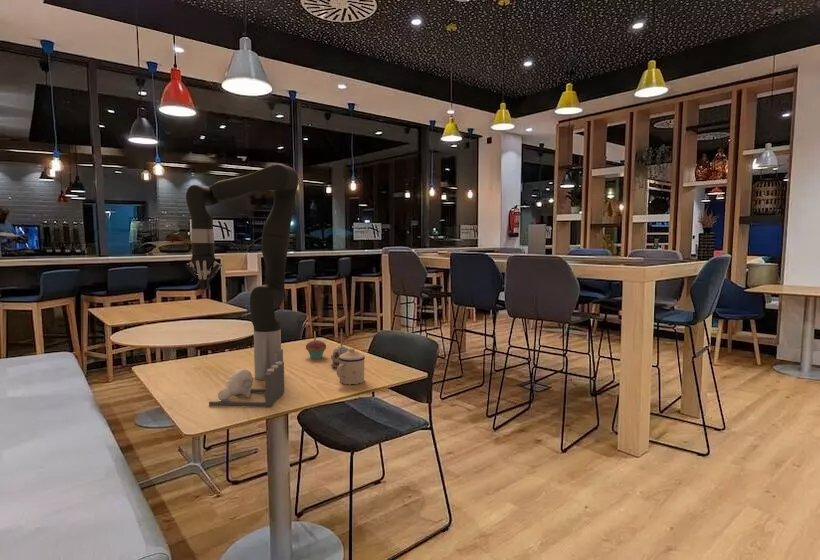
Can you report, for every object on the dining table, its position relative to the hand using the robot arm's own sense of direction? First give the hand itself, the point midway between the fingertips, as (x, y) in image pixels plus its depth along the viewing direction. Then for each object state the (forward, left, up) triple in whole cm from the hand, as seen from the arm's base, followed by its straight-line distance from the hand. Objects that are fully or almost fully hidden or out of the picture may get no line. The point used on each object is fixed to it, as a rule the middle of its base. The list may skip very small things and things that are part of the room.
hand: (204, 289), depth 168 cm
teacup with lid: (-54, +9, -31) cm, 63 cm away
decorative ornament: (-48, -11, -31) cm, 58 cm away
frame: (-25, +27, -31) cm, 48 cm away
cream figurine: (-21, +27, -31) cm, 46 cm away
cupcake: (-35, -24, -31) cm, 53 cm away
